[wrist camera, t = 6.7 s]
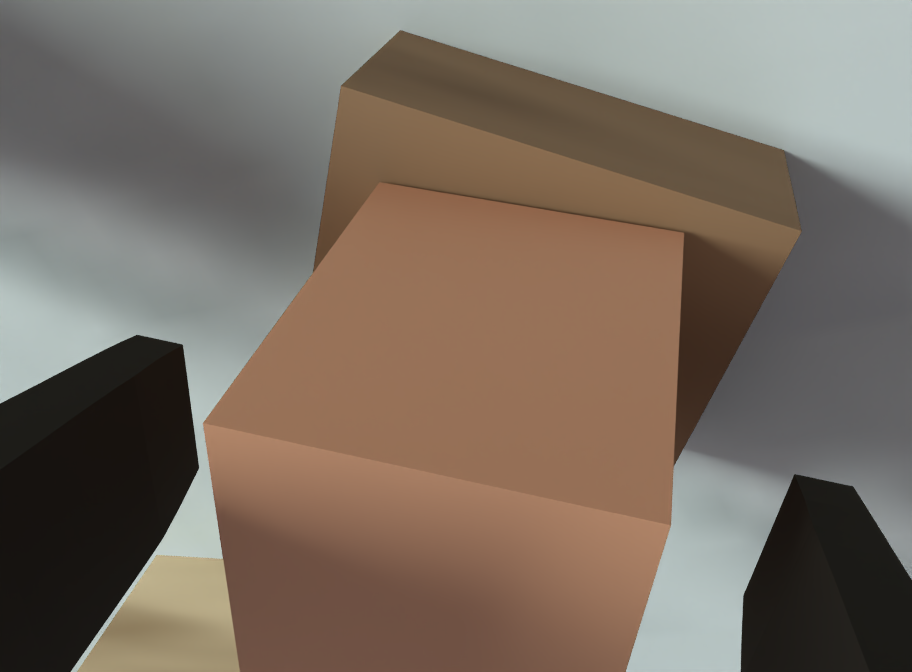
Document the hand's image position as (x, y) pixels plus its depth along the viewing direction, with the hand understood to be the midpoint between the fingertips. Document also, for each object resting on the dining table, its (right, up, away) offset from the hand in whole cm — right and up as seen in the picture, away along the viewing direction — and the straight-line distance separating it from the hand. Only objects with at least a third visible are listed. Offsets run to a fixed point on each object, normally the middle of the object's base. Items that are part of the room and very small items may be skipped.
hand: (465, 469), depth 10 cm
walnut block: (+1, +3, +5) cm, 6 cm away
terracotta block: (+1, +2, +2) cm, 3 cm away
